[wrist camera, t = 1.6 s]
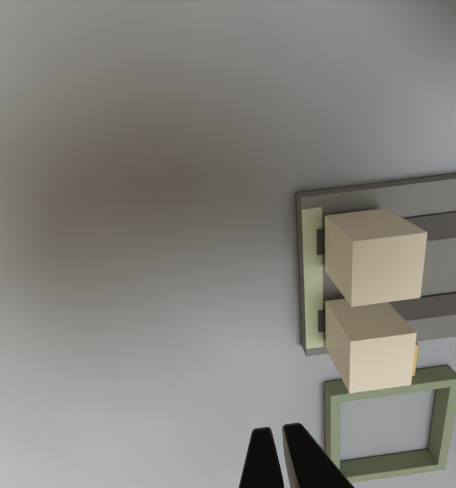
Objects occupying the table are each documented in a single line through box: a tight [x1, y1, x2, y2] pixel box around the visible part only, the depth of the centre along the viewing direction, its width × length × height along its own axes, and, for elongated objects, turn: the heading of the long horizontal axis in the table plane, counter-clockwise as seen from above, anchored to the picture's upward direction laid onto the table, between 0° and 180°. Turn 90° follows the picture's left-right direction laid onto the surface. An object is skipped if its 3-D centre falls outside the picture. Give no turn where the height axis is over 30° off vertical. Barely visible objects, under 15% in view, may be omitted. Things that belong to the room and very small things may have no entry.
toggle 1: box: [325, 208, 427, 307], centre depth 16 cm, size 3×3×4 cm
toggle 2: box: [325, 299, 417, 393], centre depth 18 cm, size 3×3×4 cm
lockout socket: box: [325, 343, 456, 483], centre depth 24 cm, size 8×11×1 cm
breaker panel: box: [296, 173, 456, 356], centre depth 20 cm, size 11×10×1 cm
